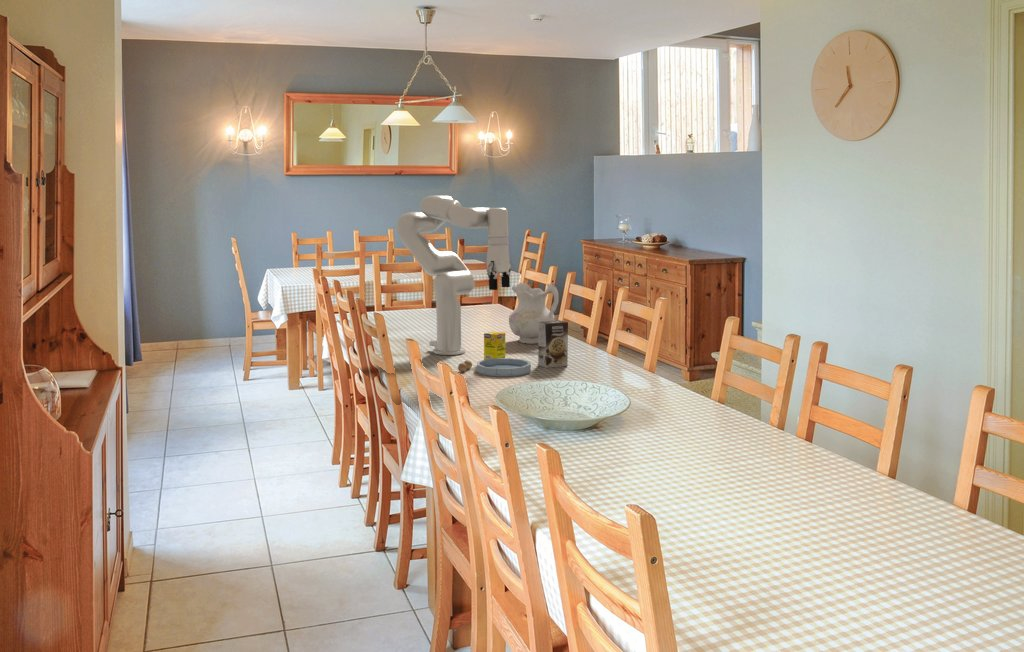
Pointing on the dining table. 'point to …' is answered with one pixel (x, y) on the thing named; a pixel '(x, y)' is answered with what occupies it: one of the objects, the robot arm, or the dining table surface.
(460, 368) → the bead
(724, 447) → the dining table surface
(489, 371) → the tray
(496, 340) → the supplement box
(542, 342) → the coffee box
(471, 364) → the bead
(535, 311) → the ceramic pitcher
